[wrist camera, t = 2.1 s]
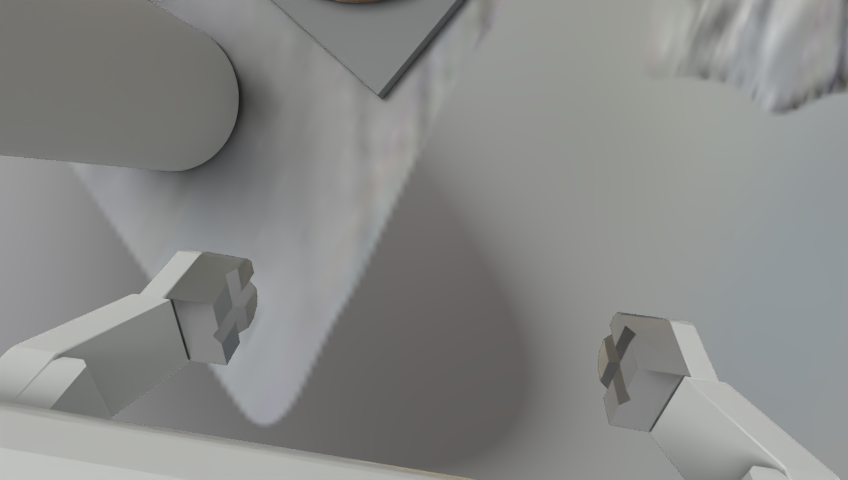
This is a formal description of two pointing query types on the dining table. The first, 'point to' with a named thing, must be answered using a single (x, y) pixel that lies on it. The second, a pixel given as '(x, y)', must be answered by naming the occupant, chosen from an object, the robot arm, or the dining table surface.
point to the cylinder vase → (111, 85)
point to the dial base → (373, 33)
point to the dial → (356, 1)
